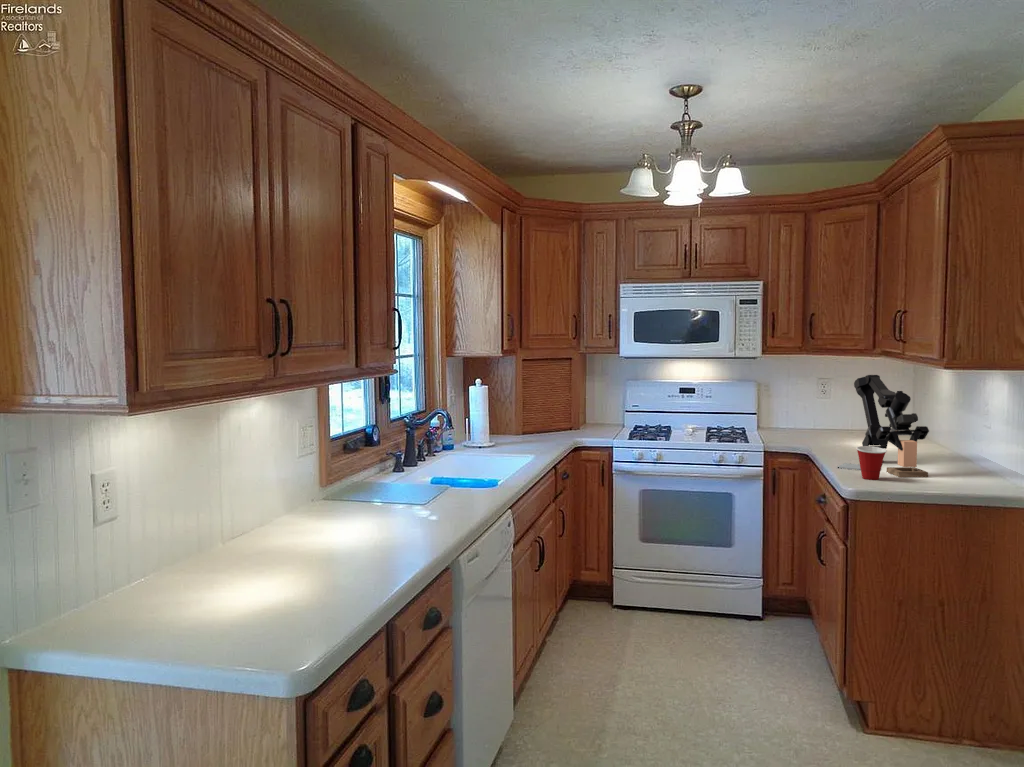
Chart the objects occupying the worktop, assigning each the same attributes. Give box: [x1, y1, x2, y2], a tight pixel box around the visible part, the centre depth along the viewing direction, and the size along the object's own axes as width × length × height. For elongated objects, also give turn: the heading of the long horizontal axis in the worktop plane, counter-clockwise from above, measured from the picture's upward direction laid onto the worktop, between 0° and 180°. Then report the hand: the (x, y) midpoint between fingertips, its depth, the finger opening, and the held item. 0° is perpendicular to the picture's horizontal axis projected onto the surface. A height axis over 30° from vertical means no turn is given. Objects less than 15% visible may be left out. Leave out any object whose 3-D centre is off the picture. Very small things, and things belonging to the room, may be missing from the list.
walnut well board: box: [885, 466, 929, 478], centre depth 295 cm, size 11×11×2 cm
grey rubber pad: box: [836, 462, 861, 471], centre depth 312 cm, size 11×11×1 cm
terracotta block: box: [897, 439, 918, 468], centre depth 295 cm, size 5×5×10 cm
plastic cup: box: [855, 445, 888, 481], centre depth 288 cm, size 11×11×12 cm
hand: (909, 449), depth 293 cm, fingers closed on terracotta block, 5 cm apart
